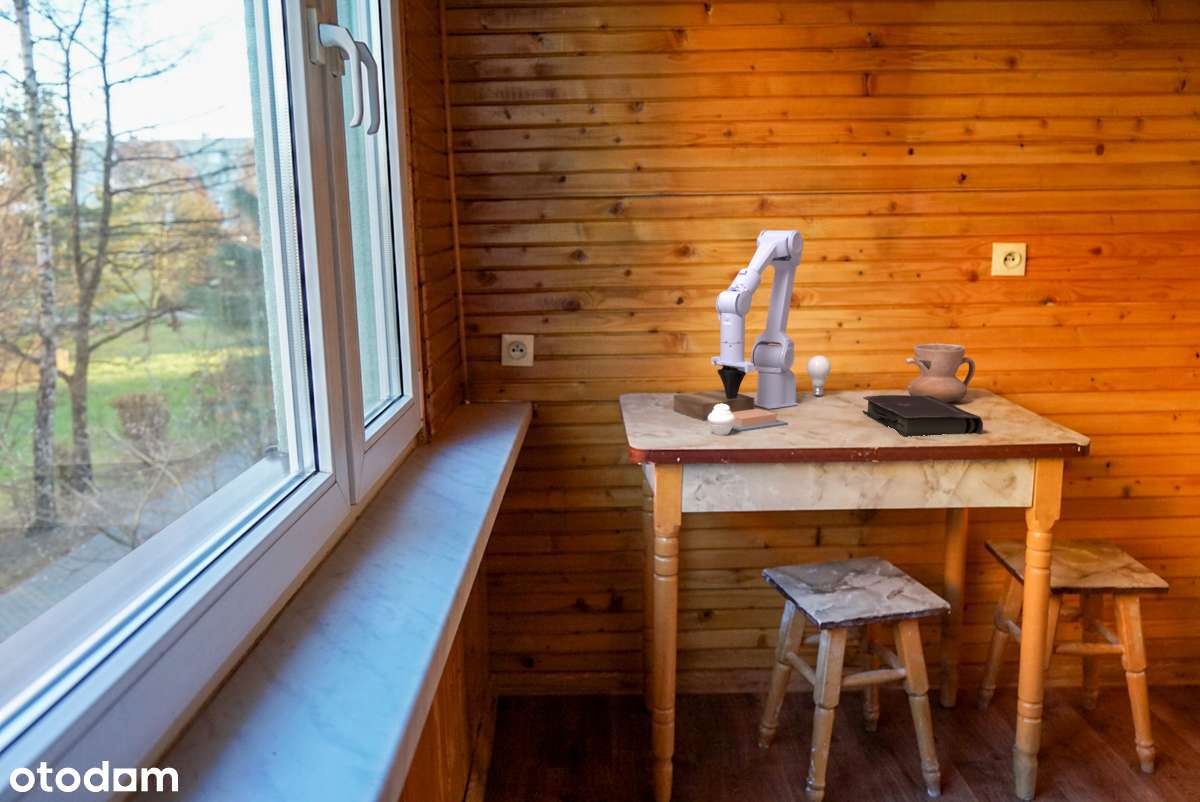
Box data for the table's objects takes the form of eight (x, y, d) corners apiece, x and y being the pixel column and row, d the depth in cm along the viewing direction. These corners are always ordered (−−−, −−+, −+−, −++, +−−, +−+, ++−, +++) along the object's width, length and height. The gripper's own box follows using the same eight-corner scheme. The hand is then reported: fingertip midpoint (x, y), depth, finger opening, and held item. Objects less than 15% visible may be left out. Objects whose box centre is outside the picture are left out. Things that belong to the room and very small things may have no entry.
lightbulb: (802, 394, 252) (804, 353, 250) (826, 393, 253) (827, 353, 251) (809, 398, 246) (810, 357, 244) (833, 398, 247) (834, 356, 244)
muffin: (738, 432, 210) (739, 401, 209) (730, 438, 205) (730, 406, 203) (712, 429, 213) (713, 399, 212) (703, 435, 207) (703, 404, 206)
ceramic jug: (912, 407, 234) (915, 350, 232) (895, 396, 249) (897, 342, 246) (984, 406, 234) (988, 350, 231) (963, 395, 248) (966, 342, 246)
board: (722, 404, 240) (723, 389, 239) (754, 413, 229) (754, 397, 228) (673, 411, 233) (673, 395, 232) (703, 420, 222) (703, 404, 221)
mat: (753, 414, 228) (753, 412, 228) (788, 424, 217) (788, 422, 217) (706, 420, 222) (706, 419, 222) (738, 431, 210) (739, 429, 210)
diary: (932, 414, 230) (934, 394, 229) (982, 437, 205) (984, 415, 204) (858, 415, 228) (860, 394, 227) (900, 439, 204) (901, 416, 203)
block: (776, 413, 217) (776, 422, 217) (757, 408, 223) (757, 416, 224) (741, 418, 212) (741, 427, 213) (723, 413, 219) (723, 421, 219)
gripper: (701, 339, 225) (700, 395, 228) (737, 346, 213) (736, 405, 215) (725, 337, 229) (724, 392, 231) (761, 344, 216) (760, 402, 219)
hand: (731, 398), depth 224 cm, fingers closed
